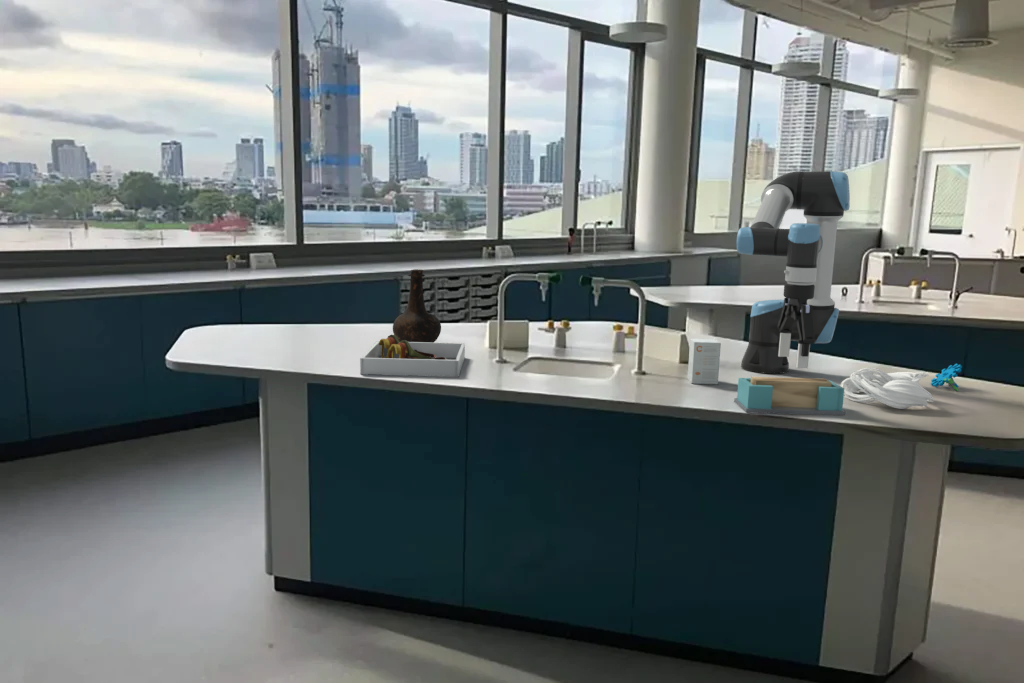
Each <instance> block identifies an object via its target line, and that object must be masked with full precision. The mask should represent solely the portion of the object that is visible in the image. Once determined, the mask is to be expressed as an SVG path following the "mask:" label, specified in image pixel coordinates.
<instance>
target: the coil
mask: <svg viewBox="0 0 1024 683" xmlns="http://www.w3.org/2000/svg"><path fill="white" fill-rule="evenodd" d="M928 376H929V373H926V371H922V372H920V371H919V372H911V371H899V372H897V371H896V372H888V373H886V372H885V371H883V370H881V369H878V368H875V367H864V368H861V369H858V370H856V371H854V372H852V373H850V377H847V378H845V379H843V380H842V381H841V382H840V385H839V386H841V387H843V388H844V398H846V399H848V400H850V401H853V402H856V403H874V402H877V401H878V402H879V403H882V404H884V405H885V406H886V405H887V406H889V407H891V408H895V409H900V410H901V409H908V408H911V407H922V408H923V407H924V406H925V407H924V408H927V406H928V402H930V403H935V398H934V397H933V395H932V393H931V392H929V391H928V390H927V389H925V388H924V387H923V385H921V384H919V382H920V381H921V380H922V379H923V378H926V377H928ZM845 386H847V388H846V389H845ZM859 393H864V394H859Z"/></svg>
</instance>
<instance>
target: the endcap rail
mask: <svg viewBox="0 0 1024 683" xmlns="http://www.w3.org/2000/svg"><path fill="white" fill-rule="evenodd" d="M827 380H828V381H830V382H832V384H831V387H818V396H817V406H816V408H806V407H771V404H772V393H773V386H771V385H753V384H751V383H750V382H751V377H738V380H737V381H738V383H737V394H736V398H735V397H734V399H733V403H735V404H736V405H737V406H738V407H739V408H740V409H742V411H743V412H745V413H749V414H777V415H778V414H782V415H783V414H785V415H787V414H788V415H818V414H826V416H831V415H832V416H846V411H845V410H844V409H843V407H844V406H843V405H844V398H845V396H844V395H845V393H844V389H845V387H844V388H843V387H841V386H840V385H839V384H837V383H835V382H834V381H832V380H830V379H827Z"/></svg>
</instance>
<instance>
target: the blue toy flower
mask: <svg viewBox="0 0 1024 683" xmlns="http://www.w3.org/2000/svg"><path fill="white" fill-rule="evenodd" d="M962 368H963V365H961V364H958V363H954V365H952V364H950V365H948V367H947V368H943V369H941V373H940V372H938V373H936V374H935V377H936V378H935V377H933V378H932V379H931V382H930V385H931V386H932V387H935V388H938V387H939V386H940V387H942V386H944V385H945V383H946V384H948V386H949V387H952V388H953V389H954V390H955V391H956V392H959V385H958V384H957V383H956V382H955V381H954V378H957V376H959V375H958V374H959V373H961V372H962Z"/></svg>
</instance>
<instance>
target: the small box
mask: <svg viewBox="0 0 1024 683" xmlns="http://www.w3.org/2000/svg"><path fill="white" fill-rule="evenodd" d="M721 344H722V343H721V342H720V341H719V340H717V339H716V338H689V350H688V351H689V352H688V353H689V354H688V368H687V380H688V381H689V382H690V383H691V384H695V385H696V384H698V385H700V384H701V385H718V384H719V373H720V363H721V362H720V360H721V359H720V358H721V348H722V347H721Z"/></svg>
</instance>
